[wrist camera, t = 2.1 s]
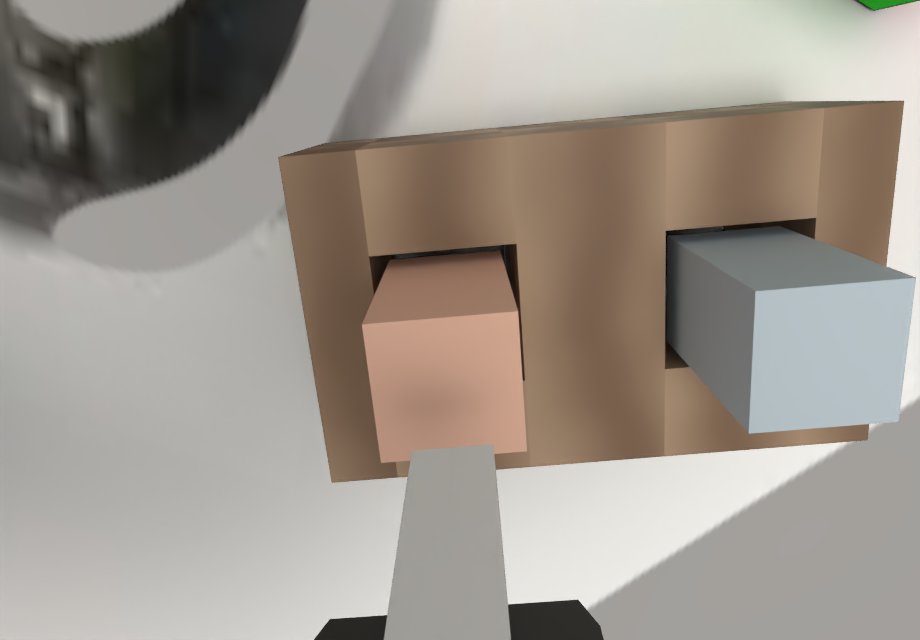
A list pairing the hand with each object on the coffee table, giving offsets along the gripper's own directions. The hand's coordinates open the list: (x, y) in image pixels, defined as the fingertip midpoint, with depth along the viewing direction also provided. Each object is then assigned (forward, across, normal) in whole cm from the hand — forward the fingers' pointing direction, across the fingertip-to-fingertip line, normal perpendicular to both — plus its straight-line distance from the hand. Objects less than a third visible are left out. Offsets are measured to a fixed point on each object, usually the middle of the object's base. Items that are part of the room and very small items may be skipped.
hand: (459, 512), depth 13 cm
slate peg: (+13, +10, 0) cm, 16 cm away
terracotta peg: (+13, 0, 0) cm, 13 cm away
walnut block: (+20, +4, 0) cm, 20 cm away
